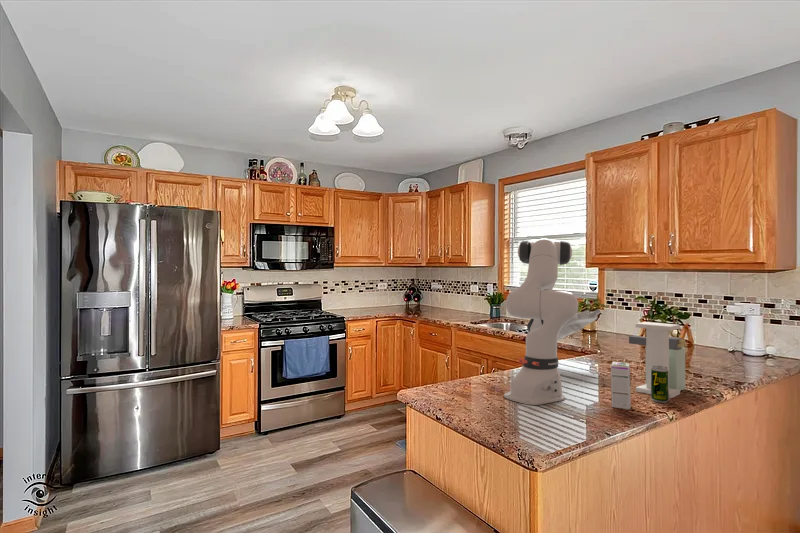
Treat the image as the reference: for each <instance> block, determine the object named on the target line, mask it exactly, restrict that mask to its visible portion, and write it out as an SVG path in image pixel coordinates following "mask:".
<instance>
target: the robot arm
mask: <svg viewBox="0 0 800 533" xmlns="http://www.w3.org/2000/svg"><path fill="white" fill-rule="evenodd" d="M517 256H518V258H519V261H520V262H521V263H523V264H526V265H527V264H528V267H527V273H526V274H527V275H526V278H525V280H524V281H523V282H522V284H521V285H520V286H519V287H517V288H516V289H514V290H512V291H510V292H509V293H508V295H507V297H506V300H505V308H506V311H507V312H508V314H509V315H510V316H511V317H515V318H520V319H527V320H528V319H529V322H528V323H527V325H526V329H527V331H528V333H526V336H525V355H524V357H523V358H522V357H519V358H518V363H519V364H521V365H522V367H521V368H520V370H519V371H518V373H517V374H516V375H515V376H514V377H513V378H512V380H511V383H510V391H508V392H505V393H504V394H503V397H504V398H505V399H507V400H510V401H513V402H517V403H521V404H524V405H531V406H539V405H545V404H550V403H556V402H561V401H565V400H566V396H565V395H564V394H563V388H562V387H563V386H562V376H561V374H560V373H559V370H558V367H559V357H558V342H559V341H561V340H564V338H565V337H569V336H571V335H572V334H575V333H576V332H579V331H581V330H583V329H585V327H587V326H588V325H591V324H592V323H593V322H595V321H596V320H597V319H598V315H599V314H601V312H602V311H601V309H599V308H597V309H595V310H594V311H590V310H589V309H586V310H584V311H582V312H578V311H579V300H578V298H577V297H576V295H575V294H574V293H573V292H570V291H566V290H565V291H564V290H559V289H554V288H555V285H556V282H557V281H558V273H559V271H558V269H559V266H564V265H567V264H569V262H570V260H571V259H572V256H573V249H572V246H571V243H570V242H569V241H568V240H564V239H560V240H557V239H549V238H540V239H539V238H538V239H525V240H522V241H521V242H520V243H519V246H518V248H517Z"/></svg>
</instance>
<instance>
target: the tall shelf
mask: <svg viewBox="0 0 800 533" xmlns="http://www.w3.org/2000/svg"><path fill="white" fill-rule="evenodd" d="M635 328H639V329H645V337H646V346H645V347H646V354H645V383H644V384H642V385H639V386H636V387H635V392H636V393H637V392H638V393H642V394H648V395H651V368H652V366H664V367H667V368H668V378H669V337H670V335H669V334H670V332H669V331H675V330H680V328H681V326H680V324H676V323H675V324H674V323H663V322H651V321H650V322H649V321H643V322H637V323H636V322H635ZM680 395H681V391H680V390H677V389H671V388H669V399H672V398H675V397H677V396H680Z"/></svg>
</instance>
